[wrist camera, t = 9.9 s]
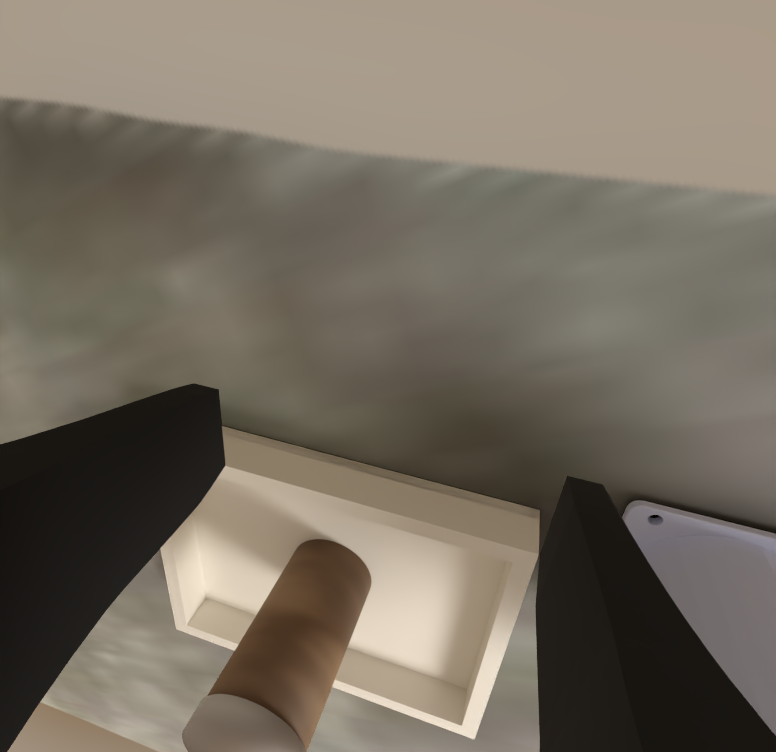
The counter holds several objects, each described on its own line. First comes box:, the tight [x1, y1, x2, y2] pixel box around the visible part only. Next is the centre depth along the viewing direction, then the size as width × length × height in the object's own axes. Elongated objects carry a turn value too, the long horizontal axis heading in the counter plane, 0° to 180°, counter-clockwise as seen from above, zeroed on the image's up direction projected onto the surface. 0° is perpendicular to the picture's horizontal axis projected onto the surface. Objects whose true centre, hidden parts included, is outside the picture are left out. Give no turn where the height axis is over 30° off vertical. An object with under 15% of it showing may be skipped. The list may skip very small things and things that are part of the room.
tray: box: [160, 426, 540, 739], centre depth 25 cm, size 18×14×2 cm
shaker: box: [182, 539, 372, 752], centre depth 22 cm, size 5×5×9 cm
